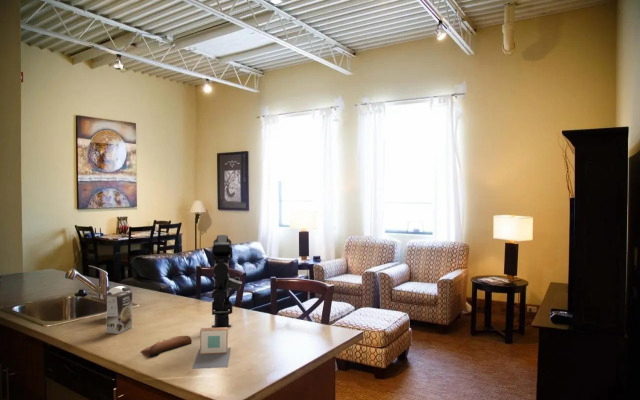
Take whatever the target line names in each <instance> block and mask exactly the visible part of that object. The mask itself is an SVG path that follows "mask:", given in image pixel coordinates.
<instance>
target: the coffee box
mask: <svg viewBox="0 0 640 400" xmlns="http://www.w3.org/2000/svg"><path fill="white" fill-rule="evenodd" d="M106 317H107V319H106V333H107V334H115V335H118V334H121V333H124V332H126V331H127V330H131V329H132V327H133V292H131V291H129V292H119V293H115V294H112V295H109V296H107V300H106Z"/></svg>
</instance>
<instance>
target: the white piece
mask: <svg viewBox="0 0 640 400" xmlns="http://www.w3.org/2000/svg"><path fill="white" fill-rule="evenodd" d="M130 290H131V287H130V286H123V285H120V286H119V285H118V286H115V285H114V284H113V285H108V286H106V288H105V291H106V292H107V293H106V295H105V298H106V301H107V296H109V295H112V294H115V293H119V292H130ZM105 319H106V320H107V316H105Z"/></svg>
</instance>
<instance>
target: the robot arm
mask: <svg viewBox="0 0 640 400" xmlns="http://www.w3.org/2000/svg"><path fill="white" fill-rule="evenodd" d="M212 243H213V244H212V246H211V248H212V249H211V261H214V267H213V274H214V276H213V280H214V281H213V282H214V285H213V290H212V292H211V299H213V301H212V302H211V315H212V316H214V324H213V325H211V328H219V327H228V328H231V327H232V324H230V315H231V314H233V302H232V300H230V295H229V293H230V291H229V290H230V289H233V290H235V291H237V292H238V291H239V292H240V290H241V287H242V284H243V282H242V281H241V279H240V277H239V276H235V277H234V278H231V277H230V274H229V271H230V270H229V261H232V259H233V247H232V240H231V239H229V236H228V235H227V234H218V235H216V238H215V239H214V240H213V242H212Z"/></svg>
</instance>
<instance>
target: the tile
mask: <svg viewBox="0 0 640 400" xmlns="http://www.w3.org/2000/svg"><path fill="white" fill-rule="evenodd" d="M228 348H229V327H219V328H214V327H202V328H201V327H200V331H199V349H200V354H216V353H227V352H228Z"/></svg>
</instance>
